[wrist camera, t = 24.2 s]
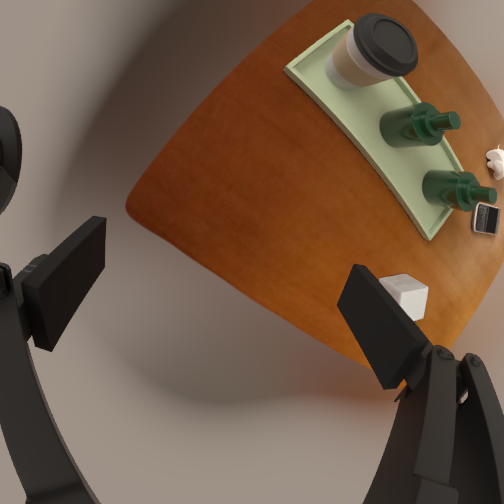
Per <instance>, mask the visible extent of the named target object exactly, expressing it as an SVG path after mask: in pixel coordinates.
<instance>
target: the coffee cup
mask: <svg viewBox="0 0 504 504" xmlns="http://www.w3.org/2000/svg"><path fill="white" fill-rule="evenodd" d="M417 62H418V52H417V46H416V43H415V40H414V38H413V37H412V35H411V33H410V32H409V31H408V30H407V29H406V28H405V27H404V26H403V25H402V24H401V23H399V22H398V21H396V20H395V19H392V18H390V17H387V16H385V15H382V14H378V13H369V14H366V15H364V16H362V17H360V18H359V19H358V20H357V21H356V23H355V25H354V26H353V27H352V28H350V30H349V31H348V32H347V33H346V34H345V36H344V37H343V38H342V39H341V40H340V41H339V43H338V44H337V45H336V46H335V48H334V49H333V52H332V53H331V54H330V55H329V57H328V58H327V59H326V61H325V72H326V74H327V76H328V78H329V79H330V81H331V82H332V83H333V84H334V85H336V86H337V87H339V88H341V89H343V90H348V91H351V90H356V89H359V88H362V87H366V86H370V85H373V84H377V83H380V82H383V81H386V80H390V79H393V78H395V77H402V76H405V75H407V74H408V73H410V72H411V71H413V70H414V69H415V67H416V65H417Z"/></svg>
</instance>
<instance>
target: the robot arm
mask: <svg viewBox="0 0 504 504" xmlns="http://www.w3.org/2000/svg"><path fill="white" fill-rule="evenodd" d="M2 158H3V151H2V143H1V139H0V173H1V168H2ZM106 219H107V218H103V217H98V216H92V217H91V218H90V219H88V221H86V222H85V223H84V224H83V225H81V226H80V227H79V228H78V229H77V230H76V231H74V232H73V233H72V234H71V235H70V236H69V237H68V238H66V239H65V240H64V241H63V242H62V243H61V244H60V245H59V246H58V247H56V248H55V249H54V250H53V251H52V252H51V253H50V254H49V255H47V254H42V255H40V256H38V257H36V258H34V259H33V260H32V261H31V262H30V263H29V264H28V265H27V266H26V267H25V268H24V269H23V270H21V271H20V272H19V273H18V274H17V275H16V276H15V277H14V278H13V279H12V274H11V269H10V267H9V265H7V264H5V263H0V424H1V429H2V432H3V435H4V438H5V442H6V445H7V447H8V450H9V453H10V456H11V459H12V462H13V464H14V467H15V469H16V472H17V474H18V477H19V479H20V481H21V483H22V486H23V488H24V490H25V493H26V496H27V499H26V502H25V503H26V504H101V503H100V502H99V500H98V499H97V497H96V496H95V494H94V493H93V491H92V490H91V488H90V486H89V485H88V483H87V481H86V480H85V478H84V476H83V475H82V473H81V471H80V470H79V468H78V466H77V465H76V463H75V461H74V459H73V457H72V455H71V453H70V451H69V449H68V447H67V445H66V444H65V442H64V440H63V437H62V435H61V433H60V431H59V429H58V427H57V424H56V422H55V420H54V418H53V415H52V413H51V411H50V408H49V406H48V403H47V401H46V398H45V395H44V393H43V390H42V387H41V385H40V382H39V379H38V376H37V373H36V370H35V367H34V363H33V360H32V356H31V353H30V349H29V346H28V343H27V341H28V340H29V338H30V337H31V335H32V337H33V340H34V344H35V347H38V348H41V349H44V350H47V351H50V352H52V351H53V349H54V347H55V345H56V344H57V342H58V340H59V338H60V337H61V335H62V333H63V331H64V330H65V328H66V326H67V325H68V323H69V321H70V320H71V318H72V317H73V315H74V313H75V312H76V310H77V309H78V307H79V305H80V304H81V302H82V301H83V299H84V298H85V296H86V294H87V293H88V291H89V290H90V288H91V287H92V285H93V284H94V282H95V281H96V279H97V278H98V276H99V275H100V274H101V272H102V271H103V269H104V267H105V236H106ZM337 307H338V308H339V310H340V312H341V314H342V315H343V317H344V319H345V320H346V322H347V324H348V326H349V327H350V329H351V331H352V333H353V334H354V336H355V338H356V340H357V342H358V343H359V345H360V347H361V349H362V350H363V352H364V354H365V356H366V358H367V360H368V361H369V363H370V365H371V367H372V369H373V371H374V372H375V374H376V376H377V378H378V380H379V382H380V383H381V385H382V387H383V389H384V390H385V389H395V388H397V387H398V386H399V384H400V383H401V382H402V380H403V379H405V381H406V383H407V385H406V386H405V387H404V389H403V390H402V391H401V393H400V394H399V395H398V396H397V398H396V399H395V401H394V402H396V401H397V400H399V399H400V403H399V406H398V410H397V413H396V417H395V420H394V424H393V427H392V430H391V433H390V436H389V439H388V442H387V445H386V448H385V451H384V453H383V456H382V459H381V461H380V464H379V467H378V469H377V472H376V475H375V477H374V479H373V481H372V484H371V486H370V488H369V491H368V493H367V495H366V497H365V500H364V502H363V504H504V415H503V412H502V409H501V406H500V403H499V400H498V398H497V395H496V392H495V390H494V387H493V385H492V382H491V379H490V377H489V375H488V372H487V370H486V367H485V365H484V363H483V361H482V360H481V359H480V357H478V356H477V355H474V354H472V353H467V354H466V355H465V356H464V358H463V359H462V361H458V360H455V357H454V355H453V354H452V353H451V352H450V351H449V350H448V349H447V348H445V347H443V346H440V345H435V346H433V345H432V343H431V342H430V341H429V340H428V338H427V337H426V336H425V335H424V333H423V332H422V331H421V330H420V328H419V327H418V326H417V325H416V324H415V322H414V321H413V320H412V319H411V317H409V316H408V315H407V313H406V312H405V311H404V310H403V309H402V307H401V306H400V305H399V304H398V303H397V301H396V300H395V299H394V298H393V297H392V296H391V294H390V293H389V292H388V291H387V290H386V289H385V288H384V286H383V285H382V284H381V283H380V282H379V281H378V280H377V278H376V277H375V276H374V275H373V274H372V273H371V272H370V271H369V270H368V268H367V267H366V266H364V265H359V264H354V265H353V267H352V270H351V272H350V275H349V277H348V279H347V282H346V284H345V287H344V289H343V291H342V294H341V296H340V298H339V301H338V303H337ZM467 391H468V397H467V399H466V400H465V401H464V402H463V403H461V398H462V397H463V396H464V395H465V394H466V392H467Z"/></svg>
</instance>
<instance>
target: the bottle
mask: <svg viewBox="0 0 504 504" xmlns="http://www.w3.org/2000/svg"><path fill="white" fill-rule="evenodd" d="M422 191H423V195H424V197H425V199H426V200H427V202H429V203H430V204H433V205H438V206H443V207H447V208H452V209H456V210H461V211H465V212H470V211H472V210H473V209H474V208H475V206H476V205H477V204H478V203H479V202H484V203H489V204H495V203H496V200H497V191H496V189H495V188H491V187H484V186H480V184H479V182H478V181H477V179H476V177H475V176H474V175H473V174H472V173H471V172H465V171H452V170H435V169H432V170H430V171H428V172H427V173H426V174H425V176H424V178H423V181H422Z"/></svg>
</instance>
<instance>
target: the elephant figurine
mask: <svg viewBox="0 0 504 504" xmlns="http://www.w3.org/2000/svg"><path fill="white" fill-rule="evenodd" d="M486 157H487V158H488V159H490V160H491V161H489V162H488V163H487V166H488V167H489V168H492V169H493V170H494V171H495V172H494V174H493V175H494V177H495V178H496V179H498V180H499V179H501V178H503V177H504V151H503V150H500V149H499V146H498V149H495V150H491V151H489V152H487V153H486Z"/></svg>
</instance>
